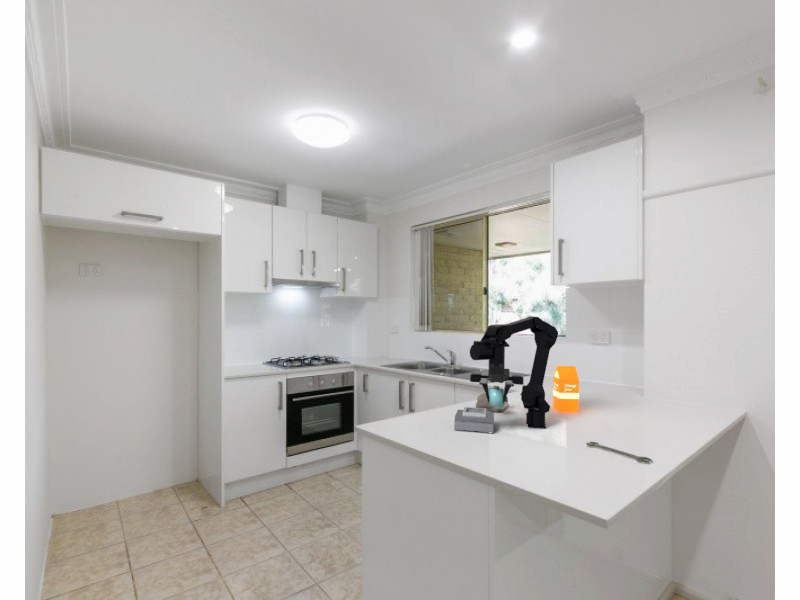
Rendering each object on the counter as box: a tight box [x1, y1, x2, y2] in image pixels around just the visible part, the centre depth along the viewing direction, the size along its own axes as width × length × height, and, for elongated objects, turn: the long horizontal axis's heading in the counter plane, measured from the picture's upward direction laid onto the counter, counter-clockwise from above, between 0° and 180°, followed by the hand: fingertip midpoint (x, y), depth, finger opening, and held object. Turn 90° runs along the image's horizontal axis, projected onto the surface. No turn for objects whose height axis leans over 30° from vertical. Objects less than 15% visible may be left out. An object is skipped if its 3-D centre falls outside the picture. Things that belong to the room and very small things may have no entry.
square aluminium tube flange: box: [453, 406, 495, 434], centre depth 157 cm, size 14×13×6 cm
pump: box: [488, 385, 504, 407], centre depth 150 cm, size 5×5×7 cm
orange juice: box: [552, 365, 580, 414], centre depth 186 cm, size 8×9×20 cm
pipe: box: [475, 392, 510, 413], centre depth 184 cm, size 16×9×15 cm
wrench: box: [586, 441, 653, 465], centre depth 130 cm, size 5×2×20 cm
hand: (496, 402), depth 150 cm, fingers closed on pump, 5 cm apart
